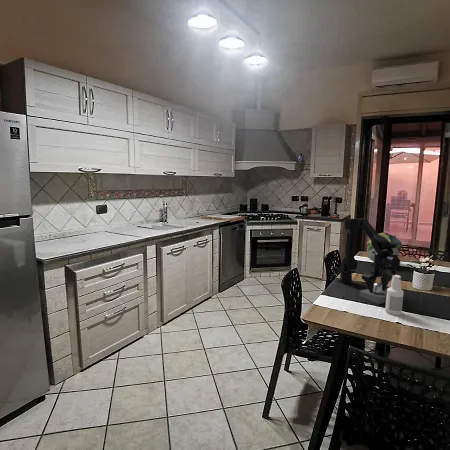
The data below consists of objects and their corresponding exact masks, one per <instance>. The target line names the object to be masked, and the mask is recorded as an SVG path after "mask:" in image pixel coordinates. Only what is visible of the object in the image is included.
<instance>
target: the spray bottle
mask: <svg viewBox="0 0 450 450" xmlns="http://www.w3.org/2000/svg"><path fill="white" fill-rule="evenodd" d="M401 279H402V277H401V275H398V274H397V275H394V276H393V277H392V281H390V282H391V284H390V287H388V288H386V292H387V297H386V303H385V309H384V311H385V312H386V313H387V314H388V315H389V314H390V315H391V316H392V315H393V316H401V315H402V314H403V313H402V311H403V302H404V290H403V289H402V288H401V286H402V285H401V284H402V280H401Z"/></svg>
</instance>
